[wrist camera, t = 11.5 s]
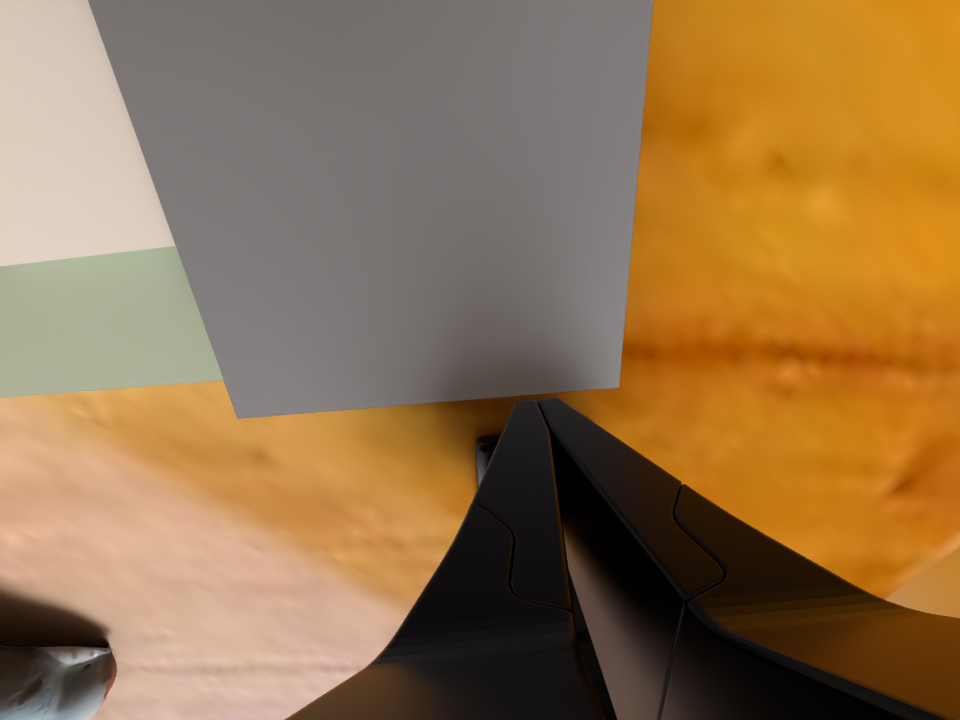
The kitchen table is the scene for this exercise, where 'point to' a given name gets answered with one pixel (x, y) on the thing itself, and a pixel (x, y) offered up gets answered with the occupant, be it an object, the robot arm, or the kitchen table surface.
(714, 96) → the kitchen table surface
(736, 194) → the kitchen table surface
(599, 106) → the gray rectangular block
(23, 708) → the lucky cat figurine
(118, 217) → the ceramic tile
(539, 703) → the robot arm
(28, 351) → the rubber mat
